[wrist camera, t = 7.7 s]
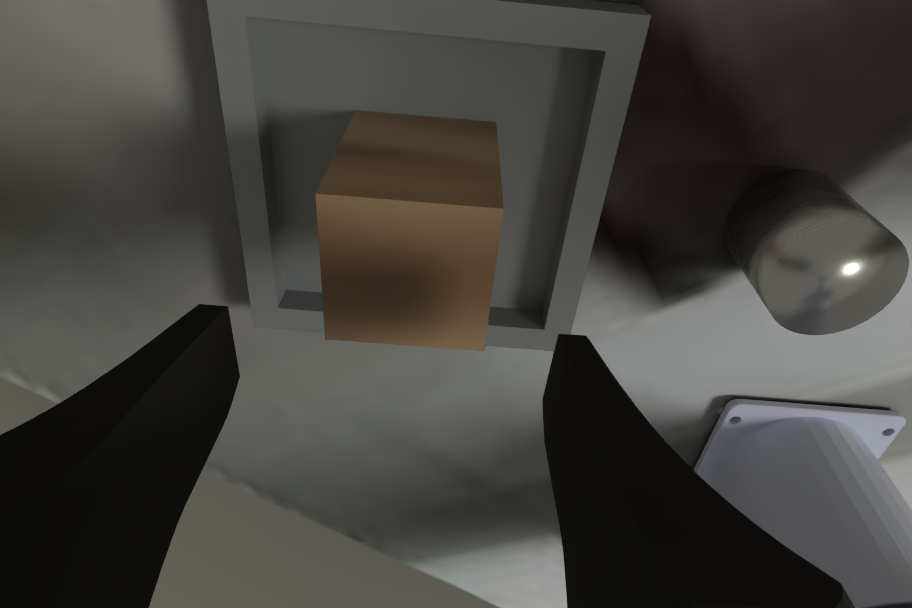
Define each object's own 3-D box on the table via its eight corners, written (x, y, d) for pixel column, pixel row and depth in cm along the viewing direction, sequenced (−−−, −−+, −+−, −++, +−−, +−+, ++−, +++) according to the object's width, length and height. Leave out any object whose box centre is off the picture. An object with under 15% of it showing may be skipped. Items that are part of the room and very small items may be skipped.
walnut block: (481, 243, 22) (484, 350, 17) (357, 233, 22) (325, 339, 17) (496, 122, 19) (503, 208, 14) (355, 109, 19) (315, 193, 14)
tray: (560, 326, 25) (565, 352, 23) (265, 302, 24) (253, 326, 23) (637, 4, 18) (651, 15, 16) (222, -37, 17) (202, -29, 16)
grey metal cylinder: (812, 272, 23) (868, 339, 20) (709, 263, 23) (747, 329, 20) (863, 174, 21) (935, 232, 17) (748, 164, 20) (800, 220, 17)
